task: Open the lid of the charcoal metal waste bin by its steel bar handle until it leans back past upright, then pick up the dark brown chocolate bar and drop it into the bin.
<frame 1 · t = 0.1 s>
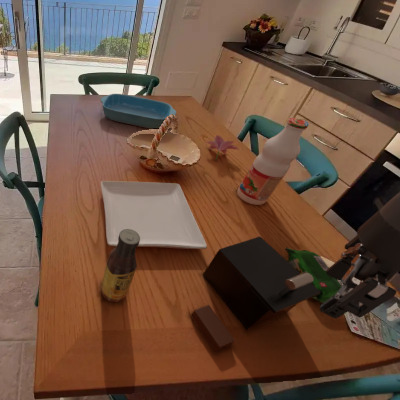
hand: (330, 293, 43), 21 cm above the table, tool pointing down, fingers open, 8 cm apart
snack package: (305, 279, 69), on the table
waste bin: (242, 292, 65), on the table
fruit juice: (250, 197, 93), on the table
chocolate bar: (209, 329, 58), on the table
casserole dish: (134, 118, 135), on the table
lily: (216, 155, 112), on the table
bin lid: (271, 264, 57), point 13 cm above the table, hinge at 0.0°
sauce bottle: (113, 291, 64), on the table
square plate: (145, 218, 83), on the table
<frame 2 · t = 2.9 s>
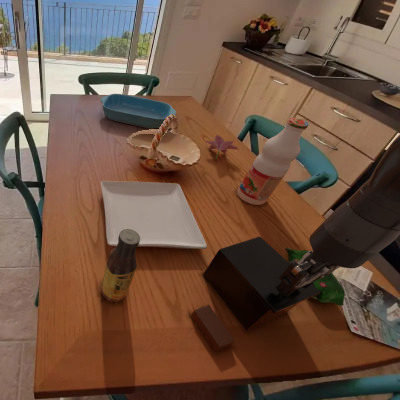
hand: (291, 287, 54), 12 cm above the table, tool pointing down, fingers closed on bin lid, 5 cm apart
bin lid: (271, 264, 57), point 13 cm above the table, hinge at -0.1°, touching gripper
everything else where it was.
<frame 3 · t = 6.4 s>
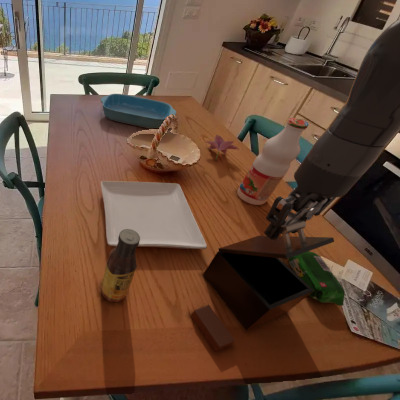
hand: (279, 233, 54), 20 cm above the table, tool pointing down, fingers closed on bin lid, 5 cm apart
bin lid: (267, 234, 56), point 18 cm above the table, hinge at 47.3°, touching gripper
everything else where it was.
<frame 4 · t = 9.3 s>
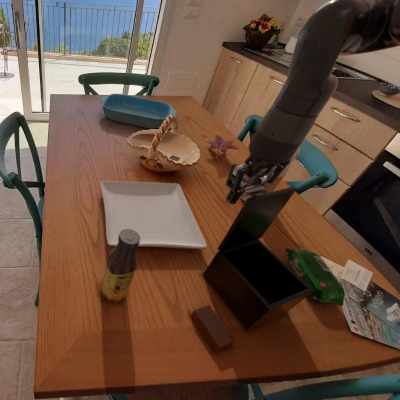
hand: (239, 199, 61), 20 cm above the table, tool pointing down, fingers closed on bin lid, 5 cm apart
bin lid: (246, 213, 60), point 18 cm above the table, hinge at 91.3°, touching gripper
everything else where it was.
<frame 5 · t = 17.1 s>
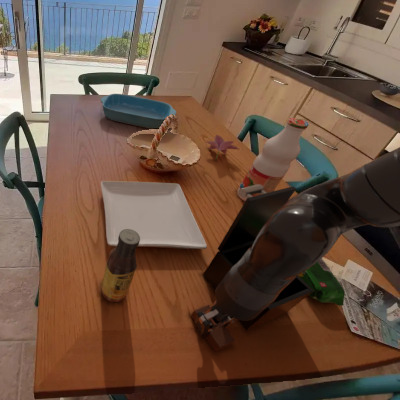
hand: (210, 329, 58), 0 cm above the table, tool pointing down, fingers closed on chocolate bar, 4 cm apart
chocolate bar: (209, 329, 58), on the table, touching gripper
bin lid: (246, 213, 60), point 18 cm above the table, hinge at 91.7°
everything else where it was.
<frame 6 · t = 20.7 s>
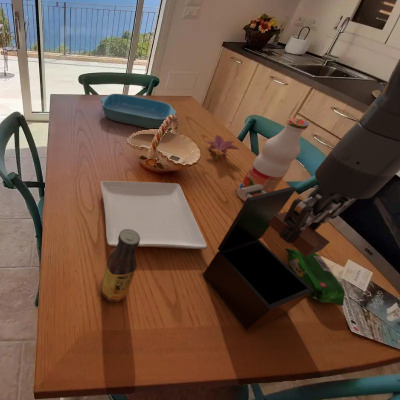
hand: (294, 236, 50), 22 cm above the table, tool pointing down, fingers closed on chocolate bar, 4 cm apart
chocolate bar: (292, 236, 50), point 22 cm above the table, touching gripper
everything else where it was.
when the fingers open (9 cm above the table, at t = 24.3 s): chocolate bar drops 8 cm, resting on waste bin.
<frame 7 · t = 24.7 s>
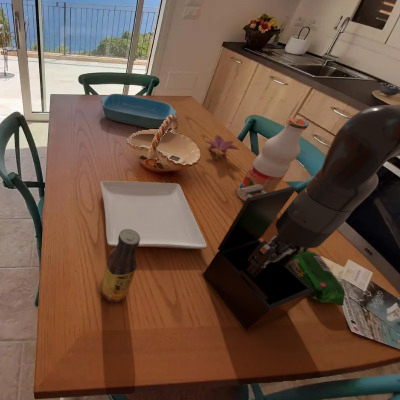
hand: (265, 268, 58), 10 cm above the table, tool pointing down, fingers open, 8 cm apart
chocolate bar: (243, 291, 65), point 1 cm above the table, touching waste bin
everything else where it was.
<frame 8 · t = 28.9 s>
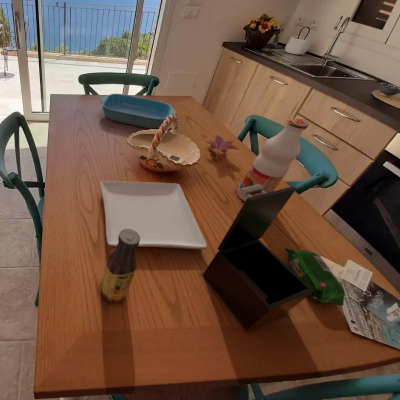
nothing on the table moved.
at the end: bin lid at +92° (first picture: +0°); chocolate bar inside the target area in the waste bin (0.2 cm from its centre), point 0.8 cm above the waste bin's base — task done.
